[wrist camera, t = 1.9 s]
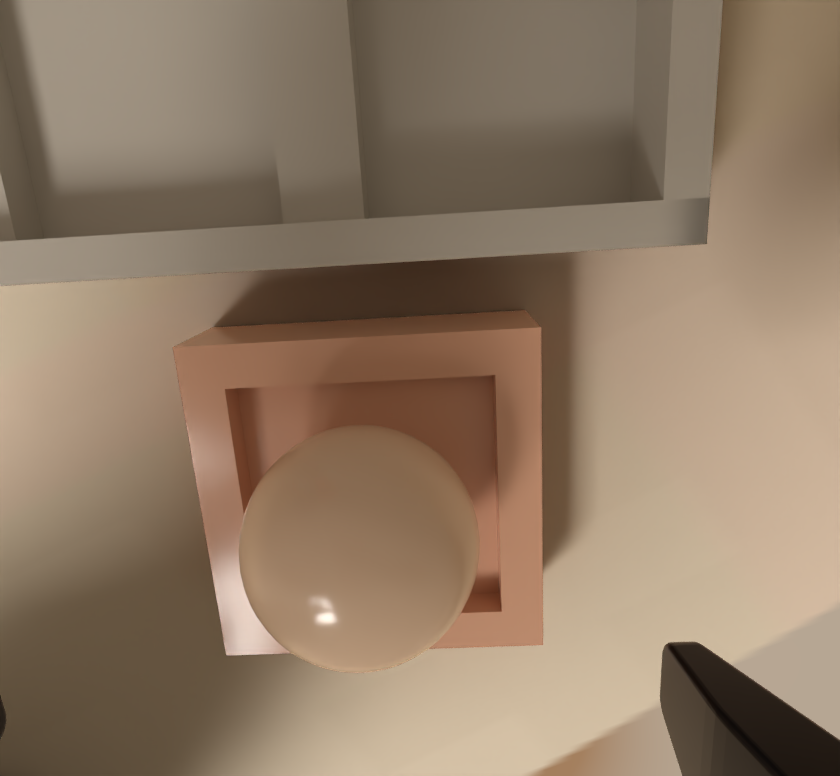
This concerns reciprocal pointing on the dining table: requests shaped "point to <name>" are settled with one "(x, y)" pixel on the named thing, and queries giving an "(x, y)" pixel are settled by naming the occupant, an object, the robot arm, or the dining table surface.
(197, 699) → the dining table surface
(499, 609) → the egg dish
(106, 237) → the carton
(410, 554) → the brown egg
